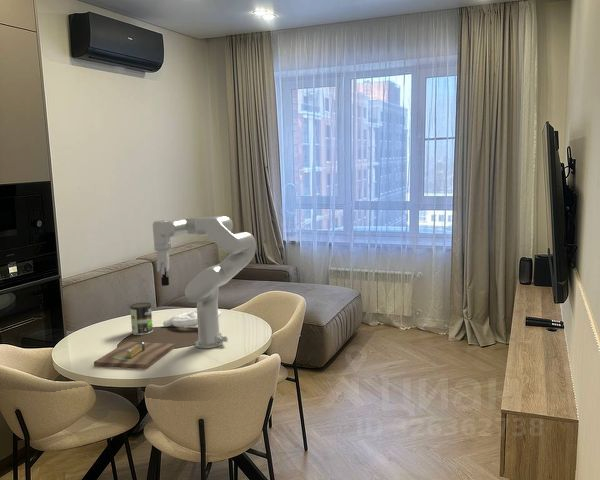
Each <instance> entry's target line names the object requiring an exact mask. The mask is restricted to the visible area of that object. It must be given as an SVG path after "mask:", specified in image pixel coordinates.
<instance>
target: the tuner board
mask: <svg viewBox="0 0 600 480" xmlns="http://www.w3.org/2000/svg"><path fill="white" fill-rule="evenodd" d="M138 342H139V341H137V342H136V341H126V342H125V343H123V344H121V345H119V346H118V347H115V348H114V349H113V350H111V351H109V352H108V353H106V354H105V355H103V356H101V357H100V358H98V359H97V360H95V361H93V366H94V367H95V368H96V367H97V368H98V367H99V368H116V369H117V368H118V369H135V370H147V369H149V368H150V367H152V366H153V365H154V364H156V363H157V362H159V360H161V359H162V358H164V357H165V356H166V355H167V354H169V353H170V352H171V351H173V350H174V349H175V348H176V345H175V343H165V342H162V343H161V342H144V343H145V350H143V351H140V352H139V353H137V354H136V355H135V356H133V357H132V358H128V357H127V350H128V349H131V348H132V347H134V346H135V345H137V343H138Z"/></svg>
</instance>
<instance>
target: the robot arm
mask: <svg viewBox="0 0 600 480" xmlns="http://www.w3.org/2000/svg"><path fill="white" fill-rule="evenodd" d="M233 224H234V223H233V221H232V219H231V218H230V217H228V216H225V215H215V216H203V217H202V216H201V217H199V216H198V217H194V218H193V217H191V218H178V219H174V220H166V219H165V220H155V221H153V223H152V232H153V233H152V234H153V248H154V252H156V272H158V273H159V272H160V275H161V277H160V279H161V286H162V287H163V286H165V287H166V286H169V285H170V280H169V279H170V278H169V277H170V276H169V270H170V250H172V245H171V242H172V241H171V238H174V237H180V236H185V235H198V236H199V237H208V238H210V240H211V241H213V243H215V244H216V246H218V247H219V248H220V249H221V250H223V252H225V253H227V254H228V255H227V257H225V259H223V260H222V261H221V262H219V263H218V264H214V265H212V266H208V267H207V268H205V269H203V270H202V271H200V273H198V274H197V275H196V276H195V277H194V278H193V279H192V280H190V281H189V282H188V283H187V284H186V286H185V289H184V295H185V296H184V297H186V299H187V300H188V301H189V302H190V303H197V304H196V310H197V320H198V324H197V333H198V334H197V335H198V340H197V341H195V347H197V348H199V349H213V348H218V347H220V346H222V345H223V344H224V343H227V342H228V341H229V339H228V338H229V337H228V336H227V335H226V336H223V335H222V332H220V325H219V317H218V310H219V304H218V303H219V302H218V300H219V291H220V290H219V289H220V287H222V286H224V285H226V284H228V282H229V281H231V280H232V278H234V277H235V276H237V275H238V274H239V273H240V271H242V270H243V269H244V268H245V267H246V266H248V265H249V264H250V262H251V261H252V260H253V258H254V257H255V255H256V251H257V250H256V249H257V243H256V238H255V237H254V235H253V234H251V233H250V232H247V231H242V232H237V233H232V232H231V231H232V230H233V226H234V225H233Z"/></svg>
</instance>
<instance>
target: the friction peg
mask: <svg viewBox="0 0 600 480" xmlns="http://www.w3.org/2000/svg"><path fill="white" fill-rule="evenodd" d="M137 342H138V343H137V345H135V346H134V347H132V348H131V349H128V350H127V357H128V358H132V357H133V356H135V355H136V354H137V353H139V352H140V351H143V350H145V343H146V342H145V341H137Z"/></svg>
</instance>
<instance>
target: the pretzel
mask: <svg viewBox="0 0 600 480" xmlns="http://www.w3.org/2000/svg"><path fill="white" fill-rule="evenodd" d="M221 316H222V312H221V310H219V309H218V318H219V317H221ZM162 325H163V326H164V327H170V326H174V327H188V326H195V325H198V320H197V309H196V310H192V311H187V312H184V313H183V312H182V313H181V314H177V315H173V316H172V317H170V318H168V319H165V320H164V321H163V323H162Z"/></svg>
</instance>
